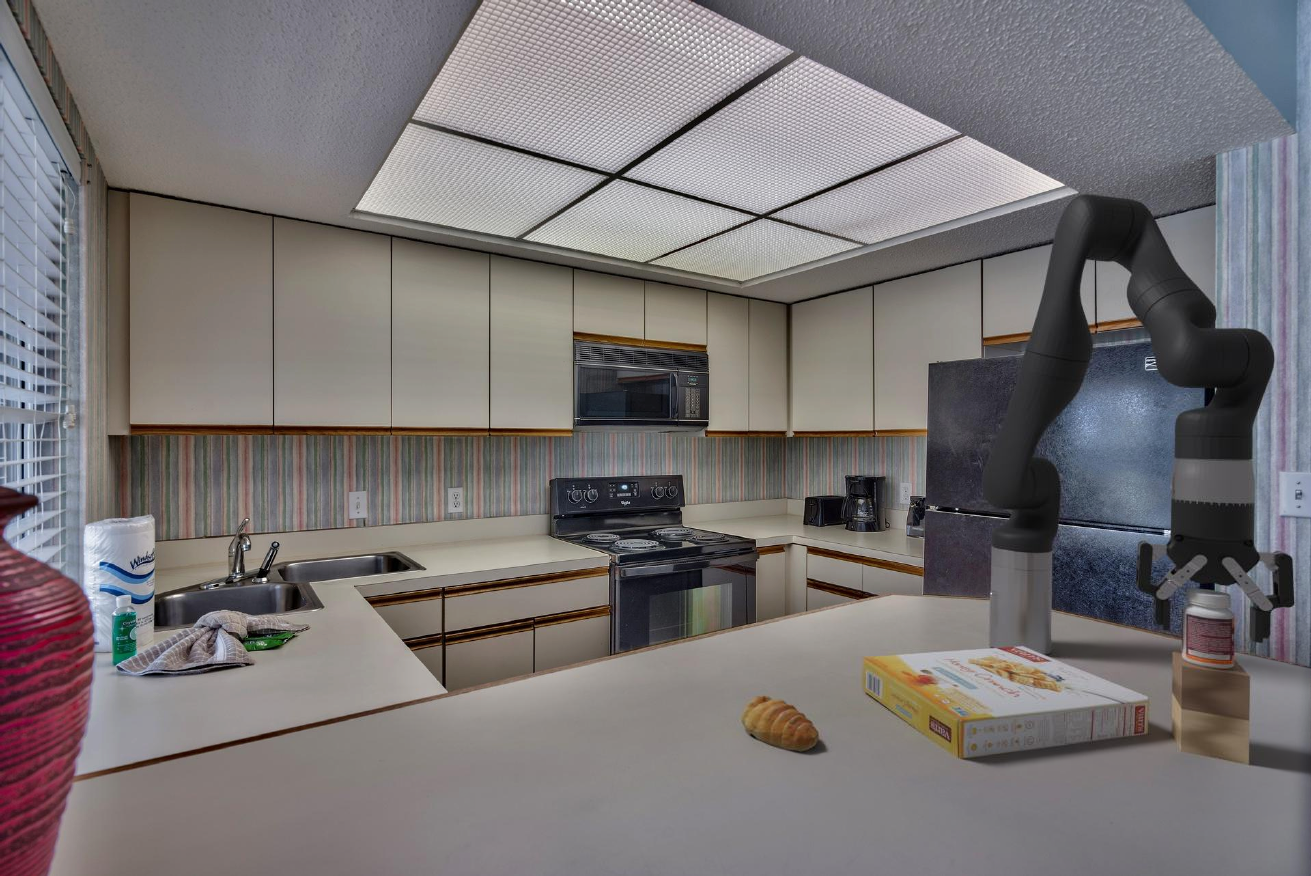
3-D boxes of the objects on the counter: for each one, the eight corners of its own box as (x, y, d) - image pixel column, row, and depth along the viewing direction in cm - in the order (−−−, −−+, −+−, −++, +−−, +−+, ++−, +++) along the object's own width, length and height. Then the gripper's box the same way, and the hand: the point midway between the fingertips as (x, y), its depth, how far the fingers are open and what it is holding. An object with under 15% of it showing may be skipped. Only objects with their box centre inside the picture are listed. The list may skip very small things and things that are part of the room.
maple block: (1180, 751, 76) (1181, 708, 76) (1171, 731, 81) (1172, 691, 81) (1248, 765, 73) (1249, 720, 73) (1234, 743, 78) (1235, 702, 78)
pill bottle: (1244, 671, 74) (1245, 598, 74) (1196, 668, 75) (1197, 595, 75) (1217, 657, 79) (1218, 588, 79) (1172, 654, 80) (1173, 586, 80)
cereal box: (859, 654, 92) (1021, 640, 100) (859, 693, 93) (1020, 676, 100) (962, 717, 73) (1153, 693, 80) (961, 766, 73) (1152, 738, 81)
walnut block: (1181, 708, 76) (1181, 666, 76) (1172, 691, 81) (1172, 651, 81) (1249, 720, 73) (1250, 676, 73) (1235, 702, 78) (1235, 660, 78)
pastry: (831, 744, 77) (832, 712, 77) (794, 762, 73) (795, 728, 73) (771, 717, 84) (771, 688, 84) (734, 731, 80) (734, 701, 80)
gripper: (1141, 496, 77) (1139, 633, 77) (1305, 504, 70) (1303, 655, 70) (1133, 492, 84) (1131, 618, 84) (1282, 498, 77) (1280, 636, 77)
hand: (1209, 634), depth 77 cm, fingers open, 8 cm apart
